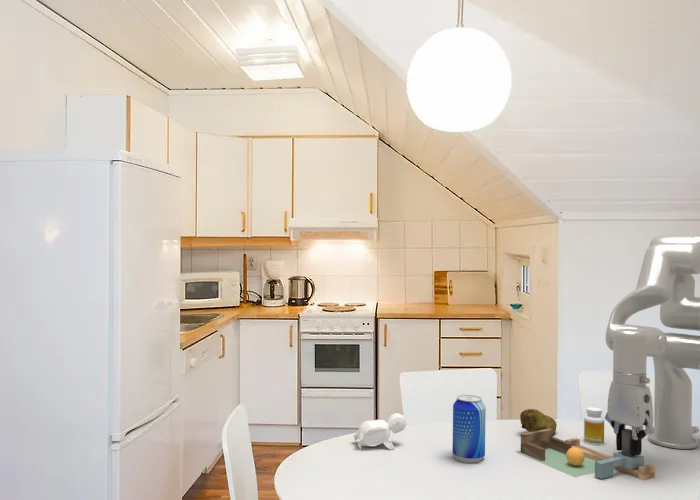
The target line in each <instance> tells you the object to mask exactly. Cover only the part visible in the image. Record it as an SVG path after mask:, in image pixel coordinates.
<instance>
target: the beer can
mask: <svg viewBox="0 0 700 500" xmlns="http://www.w3.org/2000/svg"><path fill="white" fill-rule="evenodd" d="M452 455H453V456H454V457H455V460H457V461H458V462H461V463H465V464H466V463H467V464H476V463H479V462H482V461H483V458H484V457H485V456H486V405H485V404H484V402H483V398H482V397H481V396H480V395H475V394H460V395H457V396H456V400H455V401H454V403H453V405H452Z"/></svg>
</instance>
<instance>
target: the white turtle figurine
mask: <svg viewBox="0 0 700 500" xmlns="http://www.w3.org/2000/svg"><path fill="white" fill-rule="evenodd" d="M406 426H407V421H406V419H405V417H404V415H403V414H401V413H397V412H396V413H392V414H391V415H390V416H388V419H387V421H386V420H384V419H373V420H365V421H363V422H362V423H361V424H360V426H359V428H358V429H357V430H356V431H355V433H353V438H354V441H355V443H356V444H357V446H358V449H359V450H360V451H361V450H362V447H376V446H378V445H381V444H383V445H384V446H385V447H386V448H387V449H389V450H390V451H394V449H395V447H394V444H393V442H392V441H391V440H390V439H389V438H390V435H391V432H392V433H393V434H397V433H400V432H402V431H404V430H405V429H406Z"/></svg>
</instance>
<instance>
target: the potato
mask: <svg viewBox="0 0 700 500" xmlns="http://www.w3.org/2000/svg"><path fill="white" fill-rule="evenodd" d="M519 417H520V424H521V429H524V430H526V431H527V432H533V431H539V430H544V429H549V428H550V429H553V435H554V433H556V430H557V426H558V425H557V421H556V420H555V419H554V418H553V417H551V416H548V415H546V414H544V413H543V412H542V411H540V410H538V409H534V408H528V409H527V408H526V409H524V410H523V411H521V413H520V415H519Z"/></svg>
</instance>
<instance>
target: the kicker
mask: <svg viewBox="0 0 700 500" xmlns="http://www.w3.org/2000/svg"><path fill="white" fill-rule="evenodd" d="M631 439H633V435H632V428H625V429H622V450H621V451H616V452H613V453H612V457H613V458H610V459H604V460H599V461H594V462H595V472H594V478H598V479H600V480H603V479H607V478H611V477H614V468H613V467H616V466H623V467H626V468H628V469H635V468H638V467H640V466H644V465H645V456H643V455H642V454H640V455H635V456H632V455H631V454H630V440H631Z"/></svg>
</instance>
